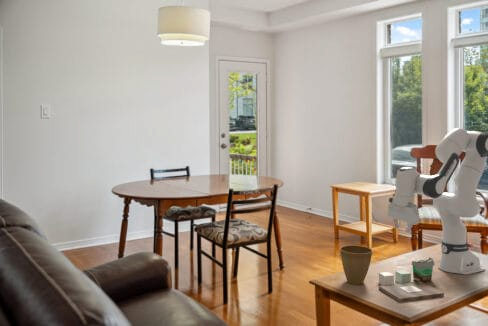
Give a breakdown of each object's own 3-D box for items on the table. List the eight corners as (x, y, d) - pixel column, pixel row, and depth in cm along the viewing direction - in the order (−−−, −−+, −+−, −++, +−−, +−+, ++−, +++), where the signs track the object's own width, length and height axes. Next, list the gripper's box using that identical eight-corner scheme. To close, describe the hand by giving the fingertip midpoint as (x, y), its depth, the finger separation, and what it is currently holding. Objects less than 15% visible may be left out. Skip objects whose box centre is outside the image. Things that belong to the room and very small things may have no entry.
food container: (421, 285, 220) (421, 264, 219) (411, 281, 225) (411, 260, 224) (439, 280, 226) (440, 260, 225) (429, 277, 231) (429, 257, 230)
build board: (420, 284, 221) (420, 280, 221) (443, 296, 206) (443, 292, 206) (378, 289, 215) (379, 285, 215) (399, 302, 200) (399, 298, 200)
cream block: (387, 282, 225) (388, 271, 224) (394, 285, 220) (394, 275, 220) (378, 283, 224) (378, 272, 223) (384, 286, 219) (384, 276, 218)
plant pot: (356, 289, 215) (356, 255, 214) (333, 280, 228) (333, 248, 226) (378, 283, 223) (379, 250, 222) (355, 274, 236) (356, 243, 234)
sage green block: (404, 280, 227) (404, 270, 227) (410, 283, 223) (410, 273, 222) (395, 281, 226) (395, 271, 226) (401, 284, 221) (401, 274, 221)
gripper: (423, 205, 214) (421, 235, 215) (397, 197, 233) (395, 225, 234) (411, 205, 212) (409, 235, 213) (386, 197, 232) (384, 225, 233)
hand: (401, 230), depth 224 cm, fingers open, 8 cm apart
